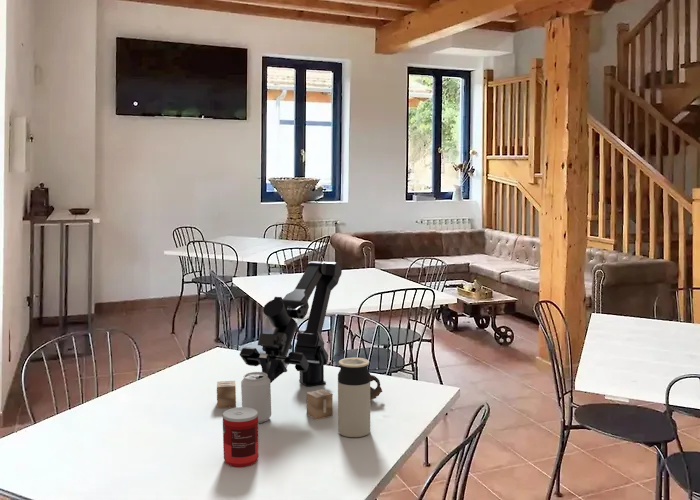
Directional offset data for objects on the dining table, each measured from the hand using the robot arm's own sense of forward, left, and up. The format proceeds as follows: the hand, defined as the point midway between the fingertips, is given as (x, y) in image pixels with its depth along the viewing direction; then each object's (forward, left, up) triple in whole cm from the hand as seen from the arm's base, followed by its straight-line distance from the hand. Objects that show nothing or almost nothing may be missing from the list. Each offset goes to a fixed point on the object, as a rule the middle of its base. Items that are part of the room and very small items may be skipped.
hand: (263, 386), depth 181 cm
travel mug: (-16, +22, -8) cm, 28 cm away
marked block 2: (-13, +7, -8) cm, 17 cm away
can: (+3, +3, -8) cm, 9 cm away
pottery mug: (-29, 0, -8) cm, 30 cm away
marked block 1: (+7, -12, -8) cm, 16 cm away
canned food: (+14, +26, -8) cm, 30 cm away
